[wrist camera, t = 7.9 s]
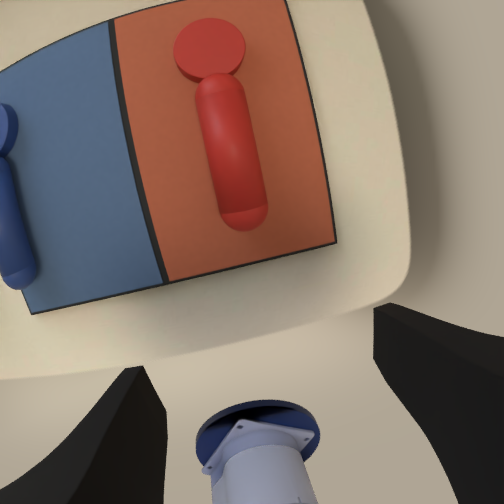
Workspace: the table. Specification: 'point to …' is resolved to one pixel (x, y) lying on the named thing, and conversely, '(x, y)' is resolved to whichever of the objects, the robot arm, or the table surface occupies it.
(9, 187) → the blue spoon
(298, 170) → the sorting mat
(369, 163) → the table surface
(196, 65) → the red spoon
